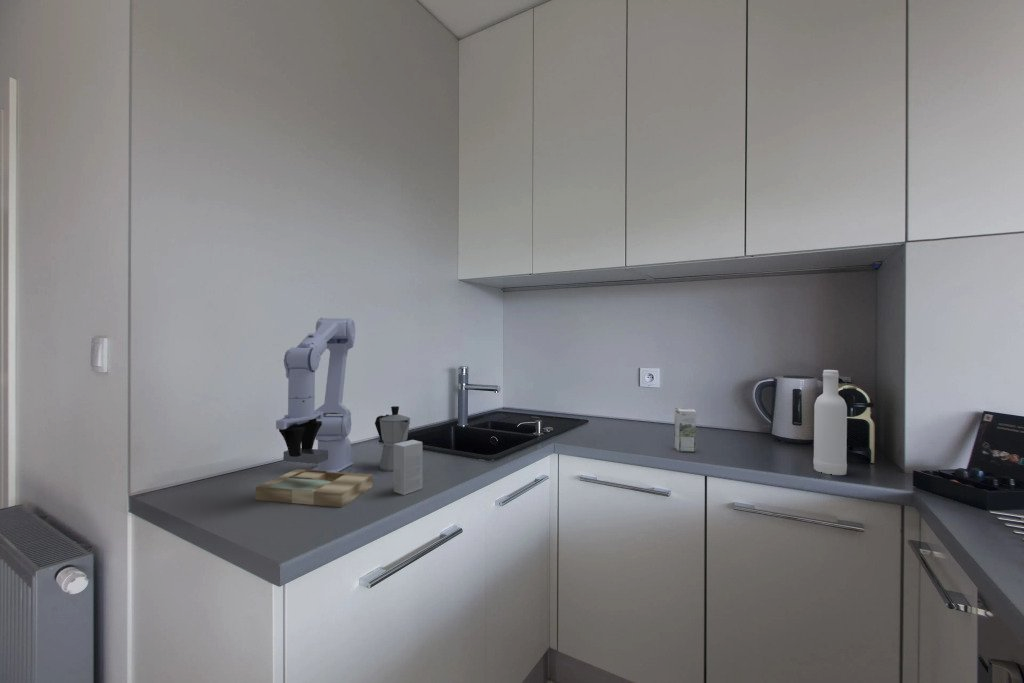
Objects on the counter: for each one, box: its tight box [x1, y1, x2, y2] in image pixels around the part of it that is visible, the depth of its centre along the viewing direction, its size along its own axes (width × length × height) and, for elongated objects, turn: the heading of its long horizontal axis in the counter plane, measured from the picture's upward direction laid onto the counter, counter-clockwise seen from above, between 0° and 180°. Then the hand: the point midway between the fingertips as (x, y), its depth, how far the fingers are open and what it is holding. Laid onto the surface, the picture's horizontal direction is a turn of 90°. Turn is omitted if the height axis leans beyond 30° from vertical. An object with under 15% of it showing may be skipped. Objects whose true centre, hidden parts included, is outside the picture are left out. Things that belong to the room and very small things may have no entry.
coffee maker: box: [374, 405, 411, 472], centre depth 126 cm, size 15×9×18 cm, turn 56°
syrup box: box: [673, 407, 697, 453], centre depth 148 cm, size 6×6×14 cm
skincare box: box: [393, 439, 424, 496], centre depth 106 cm, size 6×4×12 cm
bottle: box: [812, 369, 848, 476], centre depth 125 cm, size 8×8×30 cm
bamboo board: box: [255, 468, 374, 508], centre depth 103 cm, size 14×22×3 cm, turn 80°
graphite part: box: [282, 447, 328, 465], centre depth 101 cm, size 4×9×2 cm, turn 80°
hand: (300, 453), depth 102 cm, fingers closed on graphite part, 4 cm apart
